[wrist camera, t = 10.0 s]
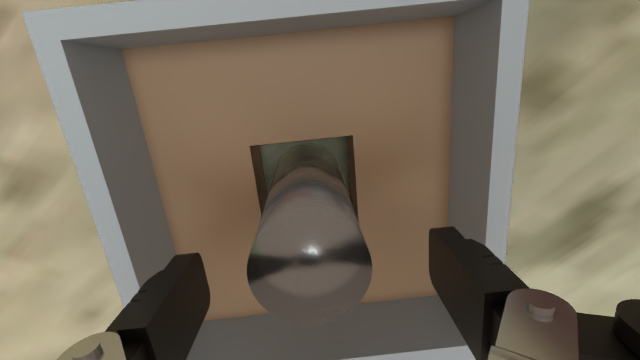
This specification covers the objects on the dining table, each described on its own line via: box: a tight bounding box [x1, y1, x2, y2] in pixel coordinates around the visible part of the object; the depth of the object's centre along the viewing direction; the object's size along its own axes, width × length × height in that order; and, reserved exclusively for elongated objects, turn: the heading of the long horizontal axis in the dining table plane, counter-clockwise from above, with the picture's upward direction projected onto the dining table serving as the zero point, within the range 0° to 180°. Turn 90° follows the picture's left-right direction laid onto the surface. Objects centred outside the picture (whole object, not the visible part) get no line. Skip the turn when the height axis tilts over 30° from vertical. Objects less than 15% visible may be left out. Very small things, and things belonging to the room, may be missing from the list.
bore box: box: [22, 0, 529, 360], centre depth 17 cm, size 18×18×7 cm
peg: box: [247, 143, 372, 324], centre depth 15 cm, size 4×4×11 cm
